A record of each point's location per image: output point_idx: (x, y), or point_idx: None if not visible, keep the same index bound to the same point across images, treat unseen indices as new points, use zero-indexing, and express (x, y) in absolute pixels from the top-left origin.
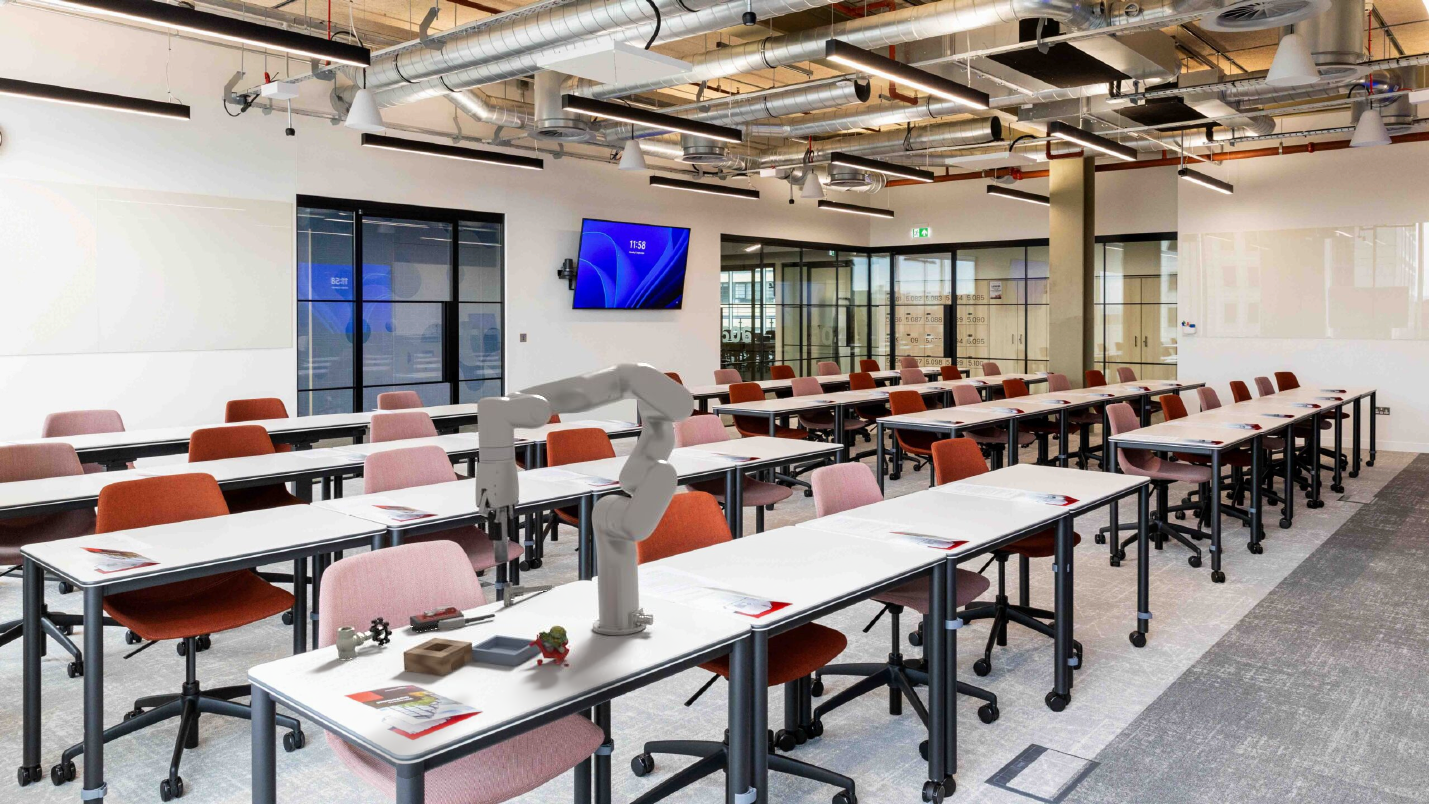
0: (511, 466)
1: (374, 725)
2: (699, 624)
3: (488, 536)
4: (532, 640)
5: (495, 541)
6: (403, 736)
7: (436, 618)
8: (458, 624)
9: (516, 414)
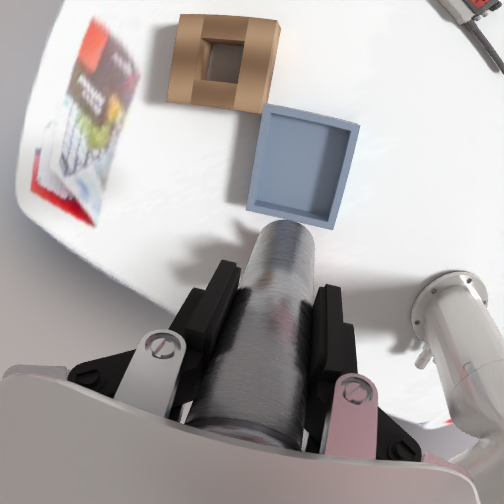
0: None
1: (36, 127)
2: (439, 387)
3: (218, 267)
4: (332, 213)
5: (239, 284)
6: (30, 176)
7: None
8: (452, 13)
9: None
